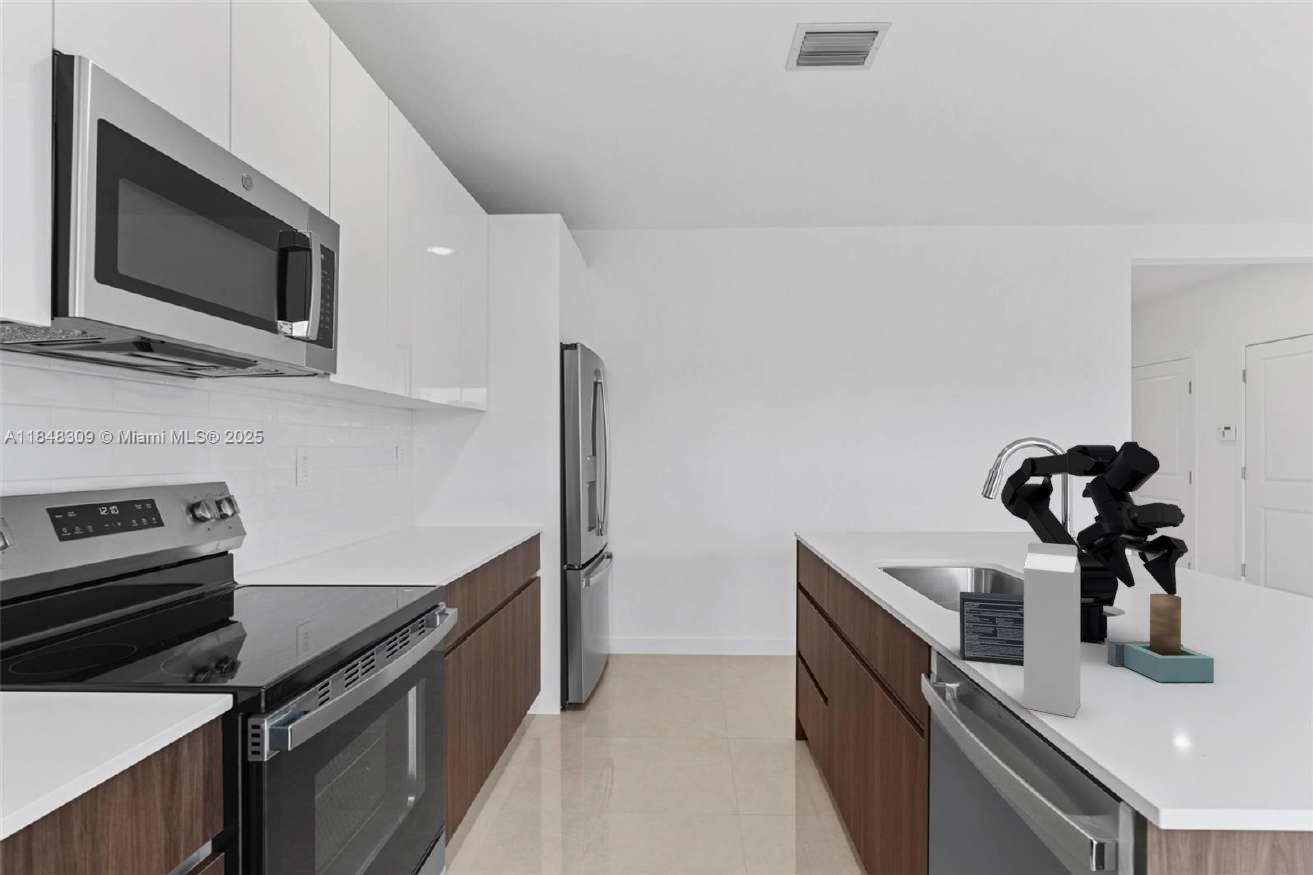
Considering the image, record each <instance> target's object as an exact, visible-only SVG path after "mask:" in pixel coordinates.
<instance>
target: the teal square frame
mask: <svg viewBox="0 0 1313 875" xmlns="http://www.w3.org/2000/svg"><path fill="white" fill-rule="evenodd" d="M1214 659H1215V658H1214V657H1211V656H1208V655H1205V654H1203V653H1200V652H1197V651H1195V650H1191V649H1190V648H1188V647H1184V646H1183V647H1182V646H1181V656H1162V655H1159V654H1157V653H1154V652H1152V651H1150V644H1124V666H1126V668H1128V669H1131V670H1133V671H1135V672H1137V673H1139V674H1142V675H1144V676H1146V677H1149V678H1150V679H1152V680H1155V681H1157V682H1159V683H1215V681H1214V680H1215V675H1214V674H1215V672H1214V671H1215V669H1214V668H1215V666H1214V664H1215V663H1214V661H1215V660H1214Z"/></svg>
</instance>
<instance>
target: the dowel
mask: <svg viewBox="0 0 1313 875" xmlns="http://www.w3.org/2000/svg"><path fill="white" fill-rule="evenodd" d="M1149 642H1150V651H1152V652H1154V653H1157V654H1159V655H1162V656H1181V644H1182V597H1181V596H1179V595H1176V594H1175V595H1169V594H1167V593H1150V595H1149Z"/></svg>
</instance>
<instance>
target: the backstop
mask: <svg viewBox="0 0 1313 875" xmlns="http://www.w3.org/2000/svg"><path fill="white" fill-rule="evenodd" d="M1124 644H1150V641H1107V664H1108V665H1111V666H1114V667H1116V668H1123V667H1124V668H1125V667H1126V666H1124ZM1181 646H1182V647H1184V644H1183V643H1181ZM1126 668H1127V667H1126Z"/></svg>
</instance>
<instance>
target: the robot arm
mask: <svg viewBox="0 0 1313 875" xmlns="http://www.w3.org/2000/svg"><path fill="white" fill-rule="evenodd" d="M1159 470H1160V461H1159V459H1158V457H1157V456H1155V454H1153V452H1151V451H1150V450H1149V449H1146V448H1144V447H1141V446H1140V445H1139V443H1138V441H1124V443H1122V445H1121V446H1120V448H1119V449H1118V450H1117V447H1116V446H1114V445H1112V444H1077V445H1074V446H1072V447H1069V448H1068V449H1067V450H1066V452H1065V453H1060V454H1053V455H1044V456H1039V457H1038V456H1030V457H1027V458H1024V459H1023V461H1022V463H1021V466H1020V467H1019V468H1018V469H1017V470H1015V472H1013V473H1012V474H1011V475H1009V477H1007V478H1006V481H1005V484H1004V485H1003V488H1002V490H1001V494H1000V501H1001V502H1002V504H1003V506H1004V508H1005V509H1006V510H1007V511H1008V512H1009V513H1010V514H1011V515H1012V516H1014V517H1016V518H1018V519H1021V520H1023V521H1025V522H1026V523H1028V525H1029V526H1030V527H1031V530H1033V532H1034V533H1035V535H1036V536H1037V537H1038V539H1039V540H1040V542H1041V543H1050V544H1064V545H1075V546H1076V547H1077V558H1078V561H1079V564H1080V642H1088V643H1089V642H1090V643H1098V644H1099V643H1100V644H1105V643H1106V639H1107V638H1108V615H1107V613H1106V612H1104V607H1114V606H1115V605H1114V603H1115V600H1116V597H1117V593H1118V589H1119V581H1120V582H1121V583H1123V585H1125V586H1126V587H1127V588H1129V589H1130V588H1133V587H1135V586H1136V583H1135V579H1134V574H1133V572H1132V568H1131V566H1130V563H1129V559H1128V556H1127V554H1126V553H1127V552H1126V550H1130V551H1133V552H1138V553H1137V554H1138V556H1139V558H1140V560H1141V561H1142V562H1143V564H1142V566H1143V568H1144V569H1145V570H1146V571H1147V573H1149V575H1150V576H1151V577H1152V578H1153V579H1154V581H1156V583H1157V584H1158V585H1159V586H1160V587H1161V589H1162V590H1163V591H1164V592H1165V594H1169V595H1175V596H1176V595H1177V591H1178V590H1177V579H1176V578H1177V576H1176V566H1177V563H1178V560H1179V559H1180V558H1182V557H1183V556H1184V555H1185V554H1187V553H1188V552H1189V548H1188V546H1187V545H1186V542H1185V541H1184V539H1181V538H1178V537H1174V536H1169V535H1166V534H1162V535H1159V536H1157V537H1156V538H1154V539H1152V540H1148V539H1149V536H1152V537H1153V536H1154V535H1156V534H1158V533H1159V531H1158V530H1157V529H1162V528H1163V529H1165V528H1169V527H1172V528H1178V527H1180V525H1181V524H1182V523H1183V522H1184V519H1185V516H1186V514H1185V513H1183V511H1182V508H1180V507H1179V506H1178V505H1177V504H1174V503H1165V502H1153V503H1152V502H1151V503H1146V504H1141V505H1138V504H1135V502H1134V500H1133V497H1132V496H1131V493H1134V492H1137V491H1139V490H1140V488H1142V486H1144V485H1145V483H1147V482H1148V481H1149V480H1150V479H1151V478H1152V477H1153V476H1154V475H1155V474H1156V473H1157V472H1158V471H1159ZM1056 475H1057V476H1058V475H1070V476H1075V477H1083V478H1084V477H1086V478H1087V477H1092V480H1091V481H1090V482H1086V483H1085V487H1084V489H1083V490H1082V494H1081V497H1082V498H1083V499H1085V498H1086V499H1088V498H1090V499H1091V500H1092V503H1093V505H1094V507H1095V509H1096V512H1097V514H1096V516H1093V518H1094V521H1095V522H1093V523H1092V524H1091V525H1089V526H1087V527H1085V528H1083V529H1081V530H1080V531H1079V532H1078V533H1077V536H1076V539H1074V538H1073V536H1072V535H1071V534H1070V533H1069V531H1068V530H1067V529H1066V527H1065V526H1064V525H1063V524H1062V522H1061V521H1060V520H1059V519H1058V518H1057V516H1056V515H1055V514H1054V512H1053V511H1052V510H1051V509H1050V503H1051V496H1052V494H1053V492H1054V487H1053V483H1052V477H1053V476H1056ZM1093 477H1094V478H1093ZM1031 478H1043V479H1042V481H1041V483H1027V482H1028V481H1030V479H1031Z"/></svg>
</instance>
